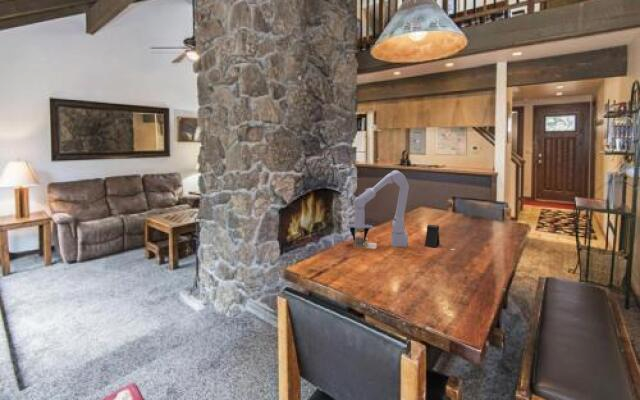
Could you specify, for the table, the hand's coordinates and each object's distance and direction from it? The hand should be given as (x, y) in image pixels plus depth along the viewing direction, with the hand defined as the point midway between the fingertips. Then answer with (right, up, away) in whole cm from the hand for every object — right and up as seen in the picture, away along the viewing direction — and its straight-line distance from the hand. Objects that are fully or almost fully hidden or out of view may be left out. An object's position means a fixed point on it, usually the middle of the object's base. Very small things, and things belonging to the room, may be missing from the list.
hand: (359, 240), depth 210 cm
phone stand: (+43, -3, +2) cm, 43 cm away
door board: (+3, -4, 0) cm, 5 cm away
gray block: (0, -3, +1) cm, 3 cm away
